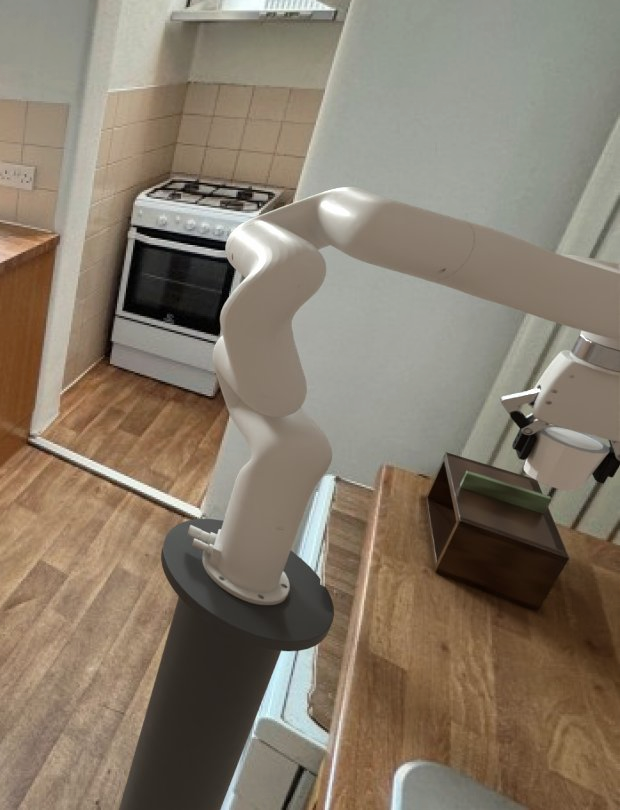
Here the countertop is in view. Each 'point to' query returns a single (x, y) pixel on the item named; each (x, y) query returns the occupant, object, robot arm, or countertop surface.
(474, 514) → the tray
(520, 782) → the countertop surface
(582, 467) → the white cylinder
